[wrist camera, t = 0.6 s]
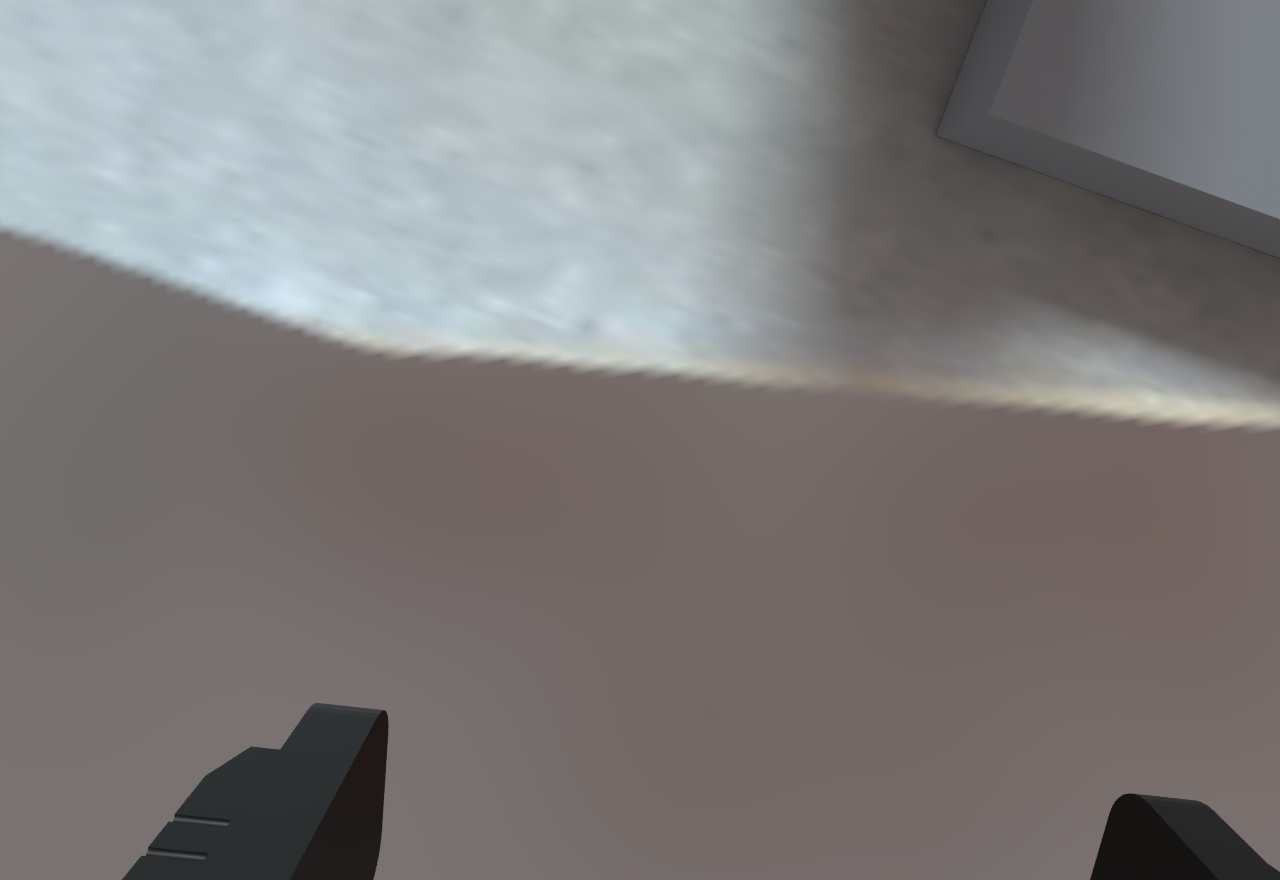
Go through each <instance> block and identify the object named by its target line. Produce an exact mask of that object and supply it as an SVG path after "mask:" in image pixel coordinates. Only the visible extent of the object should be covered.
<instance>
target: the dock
mask: <svg viewBox="0 0 1280 880" xmlns="http://www.w3.org/2000/svg"><path fill="white" fill-rule="evenodd" d="M936 136H939V137H942V138H944V139H947V140H950V141H953V142H956V143H958V144H961V145H964V146H967V147H970V148H972V149H975V150H978V151H981V152H984V153H986V154H989V155H992V156H995V157H998V158H1000V159H1003V160H1006V161H1009V162H1012V163H1014V164H1017V165H1020V166H1023V167H1026V168H1028V169H1031V170H1034V171H1037V172H1040V173H1042V174H1045V175H1048V176H1051V177H1054V178H1056V179H1059V180H1062V181H1065V182H1068V183H1070V184H1073V185H1076V186H1079V187H1082V188H1084V189H1087V190H1090V191H1093V192H1096V193H1098V194H1101V195H1104V196H1107V197H1110V198H1112V199H1115V200H1118V201H1121V202H1124V203H1126V204H1129V205H1132V206H1135V207H1138V208H1140V209H1143V210H1146V211H1149V212H1152V213H1154V214H1157V215H1160V216H1163V217H1166V218H1168V219H1171V220H1174V221H1177V222H1179V223H1182V224H1185V225H1188V226H1191V227H1193V228H1196V229H1199V230H1202V231H1205V232H1207V233H1210V234H1213V235H1216V236H1219V237H1221V238H1224V239H1227V240H1230V241H1233V242H1235V243H1238V244H1241V245H1244V246H1247V247H1249V248H1252V249H1255V250H1258V251H1261V252H1263V253H1266V254H1269V255H1272V256H1275V257H1277V258H1280V0H987V2H986V4H985V7H984V10H983V12H982V15H981V18H980V20H979V23H978V25H977V28H976V31H975V33H974V36H973V39H972V41H971V44H970V46H969V49H968V52H967V54H966V57H965V60H964V62H963V65H962V68H961V70H960V73H959V75H958V78H957V81H956V83H955V86H954V89H953V91H952V94H951V97H950V99H949V102H948V104H947V107H946V110H945V112H944V115H943V118H942V120H941V123H940V125H939V128H938V131H937V133H936Z"/></svg>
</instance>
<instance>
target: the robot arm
mask: <svg viewBox="0 0 1280 880" xmlns="http://www.w3.org/2000/svg"><path fill="white" fill-rule="evenodd" d="M387 744H388V715H387V712H386V711H384V710H377V709H368V708H358V707H349V706H340V705H331V704H322V703H315V704H313V705H312V706H311V707H310V708H309V709H308V710H307V712H306V714H305V715H304V716H303V718H302V719H301V721H300V722H299V723H298V725H297V726H296V728H295V729H294V731H293V732H292V733H291V735H290V736H289V738H288V739H287V741H286V742H285V744H284V745H283V746H282V748H281V749H280V750H277V749H268V748H259V747H250V748H248V749H247V750H245V751H244V752H242V753H240V754H239V755H237V756H236V757H234V758H233V759H231V760H230V761H228V762H226V763H225V764H223V765H222V766H220V767H219V768H217V769H215V770H214V771H212V772H211V773H209V774H208V775H206V776H205V777H204V778H203V779H202V781H201V782H200V783H199V784H198V786H197V787H196V788H195V790H194V791H193V792H192V793H191V795H190V796H189V797H188V798H187V799H186V801H185V802H184V803H183V804H182V806H181V807H180V808H179V809H178V811H177V812H176V813H175V817H174V820H173V822H168V823H167V825H166V826H165V827H164V828H163V829H162V831H161V832H160V833H159V834H158V836H157V837H156V838H155V840H154V841H153V842H152V843H151V845H150V846H149V847H148V852H147V854H146V856H141V857H140V858H139V859H138V861H137V862H136V863H135V864H134V866H133V867H132V868H131V869H130V871H129V872H128V873H127V875H126V876H125V877H124V878H123V879H122V880H373V879H374V875H375V871H376V866H377V861H378V857H379V851H380V843H381V835H382V821H383V806H384V790H385V775H386V760H387ZM1090 880H1280V872H1279V871H1277V870H1276V869H1275V868H1273V867H1272V866H1270V865H1269V864H1267V863H1266V862H1265V861H1264V860H1263V859H1262V858H1261V857H1260V856H1259V855H1258V854H1257V853H1256V852H1255V851H1254V850H1253V849H1252V848H1251V847H1250V846H1249V845H1248V844H1247V843H1246V842H1245V841H1244V840H1243V839H1242V838H1241V837H1240V836H1239V835H1238V834H1237V833H1236V832H1235V831H1234V830H1233V829H1232V828H1230V827H1229V825H1228V824H1226V822H1224V820H1222V819H1221V818H1220V817H1219V816H1218V815H1217V814H1216V813H1215V812H1214V811H1213V810H1212V809H1211V808H1210V807H1209V806H1207V805H1205V804H1203V803H1202V802H1199V801H1196V800H1186V799H1177V798H1168V797H1159V796H1149V795H1140V794H1124V795H1122V796H1121V797H1119V798H1118V799H1117V800H1116V801H1115V803H1114V804H1113V806H1112V808H1111V811H1110V813H1109V817H1108V820H1107V824H1106V827H1105V831H1104V834H1103V838H1102V841H1101V844H1100V848H1099V851H1098V855H1097V858H1096V861H1095V865H1094V868H1093V872H1092V875H1091V879H1090Z"/></svg>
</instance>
